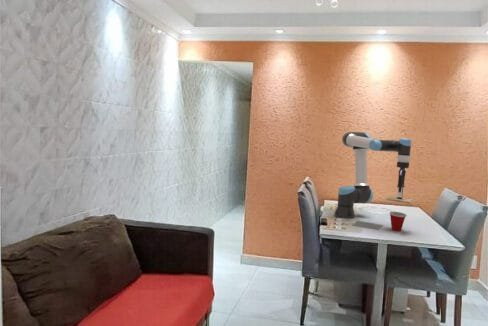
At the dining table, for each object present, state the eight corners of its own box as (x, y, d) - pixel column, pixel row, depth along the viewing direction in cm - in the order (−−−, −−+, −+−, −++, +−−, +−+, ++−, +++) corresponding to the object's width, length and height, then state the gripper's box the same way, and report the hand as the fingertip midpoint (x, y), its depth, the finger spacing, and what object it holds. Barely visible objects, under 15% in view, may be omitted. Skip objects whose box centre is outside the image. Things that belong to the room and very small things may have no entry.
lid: (389, 197, 291) (391, 183, 290) (412, 200, 284) (414, 185, 283) (385, 200, 278) (387, 185, 277) (409, 203, 271) (411, 187, 270)
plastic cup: (393, 233, 277) (395, 215, 275) (384, 228, 287) (386, 211, 286) (408, 233, 279) (410, 215, 278) (399, 228, 289) (401, 211, 288)
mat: (357, 221, 304) (357, 220, 304) (383, 225, 296) (383, 225, 296) (351, 226, 288) (351, 225, 288) (378, 230, 280) (378, 230, 280)
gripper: (399, 160, 287) (396, 194, 290) (395, 161, 273) (391, 197, 275) (410, 161, 284) (407, 196, 286) (407, 162, 270) (404, 199, 272)
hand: (399, 196), depth 281 cm, fingers closed on lid, 3 cm apart
